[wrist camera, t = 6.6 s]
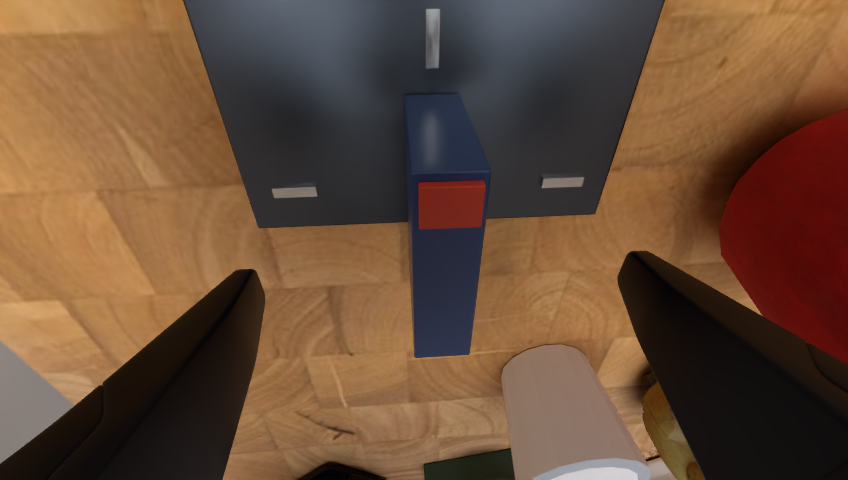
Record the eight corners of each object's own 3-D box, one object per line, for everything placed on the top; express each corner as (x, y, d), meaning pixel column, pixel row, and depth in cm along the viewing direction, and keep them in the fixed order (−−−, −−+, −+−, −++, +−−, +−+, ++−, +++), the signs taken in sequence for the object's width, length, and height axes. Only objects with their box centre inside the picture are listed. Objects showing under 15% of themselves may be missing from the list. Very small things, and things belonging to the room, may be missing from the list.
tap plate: (295, 252, 18) (280, 303, 16) (196, -113, 10) (135, -125, 8) (549, 241, 19) (573, 288, 16) (638, -112, 11) (711, -123, 8)
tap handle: (451, 254, 15) (471, 362, 11) (408, 255, 15) (415, 366, 11) (460, 93, 11) (494, 176, 7) (403, 94, 11) (410, 178, 7)
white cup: (511, 333, 23) (548, 460, 18) (615, 341, 24) (681, 462, 19) (479, 396, 27) (501, 514, 22) (569, 400, 28) (612, 513, 23)
